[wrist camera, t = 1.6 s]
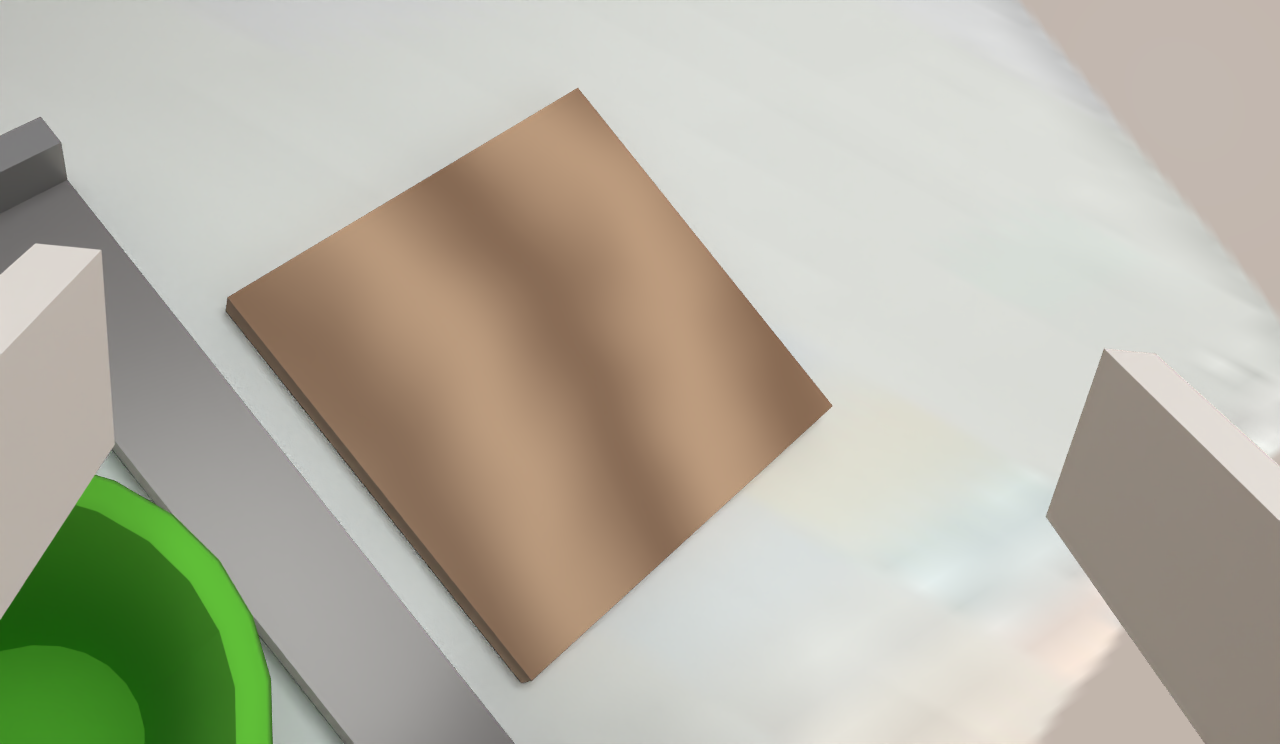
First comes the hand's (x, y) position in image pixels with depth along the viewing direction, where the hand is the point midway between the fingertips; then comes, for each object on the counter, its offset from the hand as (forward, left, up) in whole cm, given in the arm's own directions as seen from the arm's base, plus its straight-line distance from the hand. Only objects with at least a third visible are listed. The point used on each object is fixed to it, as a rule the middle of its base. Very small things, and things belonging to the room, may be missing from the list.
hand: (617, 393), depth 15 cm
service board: (+4, +7, -18) cm, 19 cm away
